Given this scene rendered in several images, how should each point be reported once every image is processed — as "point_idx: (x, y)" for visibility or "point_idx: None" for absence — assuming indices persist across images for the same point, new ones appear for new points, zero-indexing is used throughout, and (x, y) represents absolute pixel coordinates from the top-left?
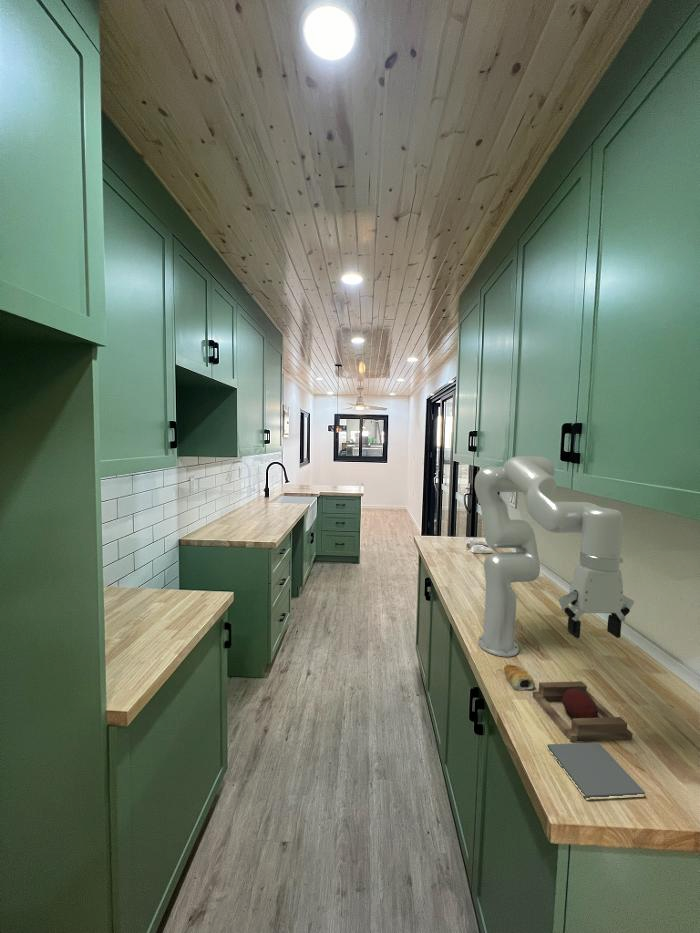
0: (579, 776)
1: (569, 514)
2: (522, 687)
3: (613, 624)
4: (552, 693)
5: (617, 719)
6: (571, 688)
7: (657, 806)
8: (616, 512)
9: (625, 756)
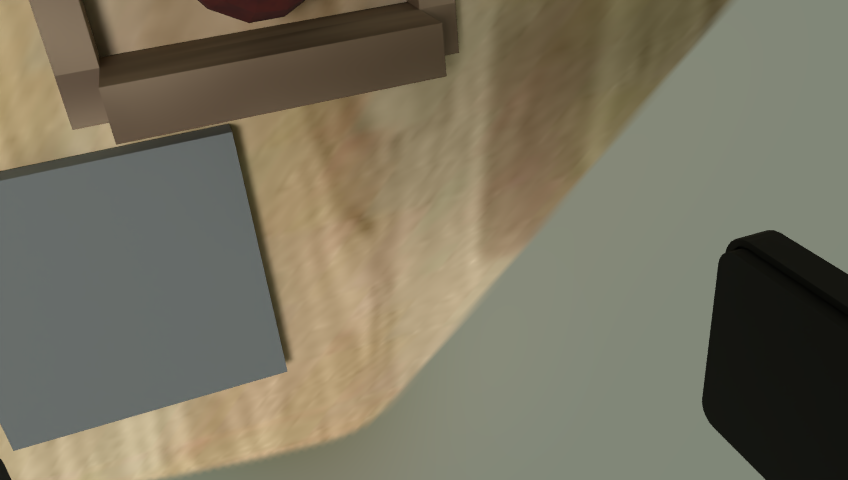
0: (19, 368)
1: None
2: None
3: (842, 462)
4: None
5: (408, 49)
6: None
7: (307, 382)
8: None
9: (337, 164)
